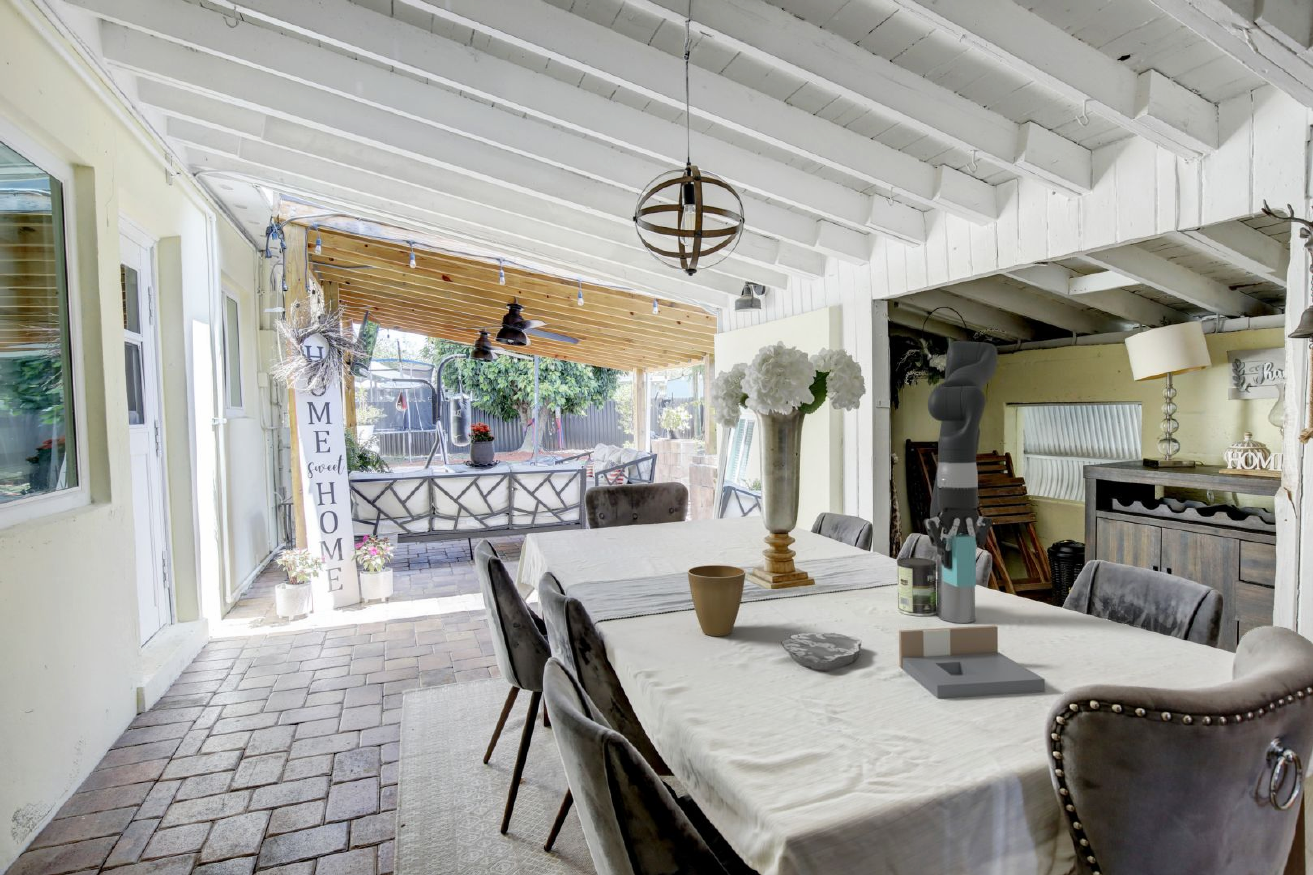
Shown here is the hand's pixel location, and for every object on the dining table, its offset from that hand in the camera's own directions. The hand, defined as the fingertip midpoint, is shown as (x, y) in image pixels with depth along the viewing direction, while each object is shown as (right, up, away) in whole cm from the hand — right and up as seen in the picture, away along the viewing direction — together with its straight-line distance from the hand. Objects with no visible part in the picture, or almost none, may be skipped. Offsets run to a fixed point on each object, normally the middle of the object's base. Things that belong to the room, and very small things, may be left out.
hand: (958, 567), depth 136 cm
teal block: (0, -3, 0) cm, 3 cm away
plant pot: (-46, -24, +36) cm, 63 cm away
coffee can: (+11, -22, +49) cm, 55 cm away
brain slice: (-24, -24, +16) cm, 38 cm away
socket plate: (+3, -24, +1) cm, 24 cm away
